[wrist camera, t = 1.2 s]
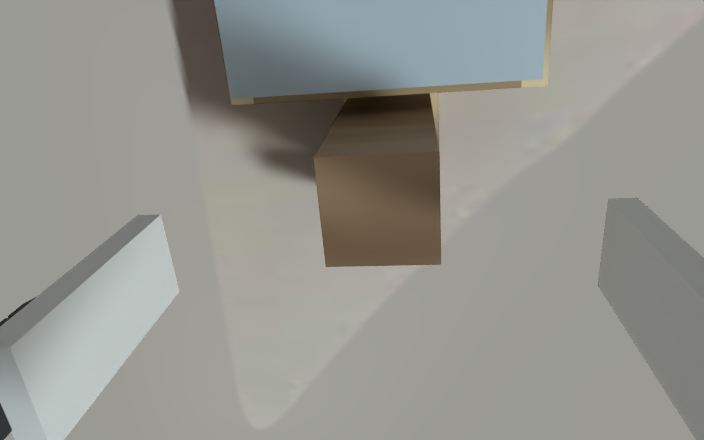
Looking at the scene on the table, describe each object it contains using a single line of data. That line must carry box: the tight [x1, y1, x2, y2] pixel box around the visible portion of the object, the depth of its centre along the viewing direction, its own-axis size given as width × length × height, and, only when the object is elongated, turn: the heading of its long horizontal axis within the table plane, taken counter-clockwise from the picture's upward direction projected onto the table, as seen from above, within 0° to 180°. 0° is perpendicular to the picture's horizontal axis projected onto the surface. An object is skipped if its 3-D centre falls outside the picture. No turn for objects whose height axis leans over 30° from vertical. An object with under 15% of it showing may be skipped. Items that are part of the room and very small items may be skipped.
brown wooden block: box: [313, 93, 441, 267], centre depth 23 cm, size 4×4×12 cm
